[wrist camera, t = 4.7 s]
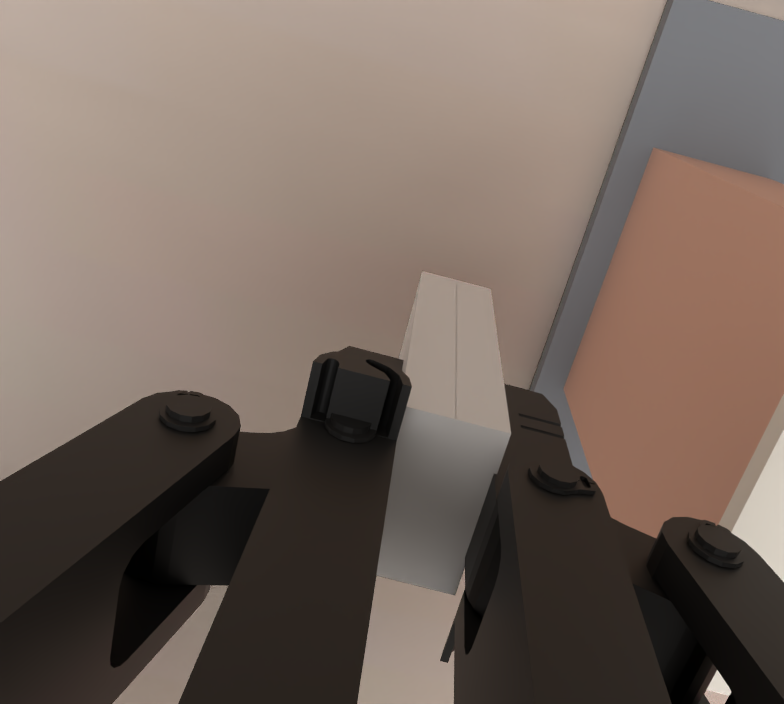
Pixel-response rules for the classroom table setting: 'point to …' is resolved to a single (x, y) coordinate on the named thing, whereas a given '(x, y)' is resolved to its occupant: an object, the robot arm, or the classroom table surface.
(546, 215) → the classroom table surface
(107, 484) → the robot arm
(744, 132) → the slate mat
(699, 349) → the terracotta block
